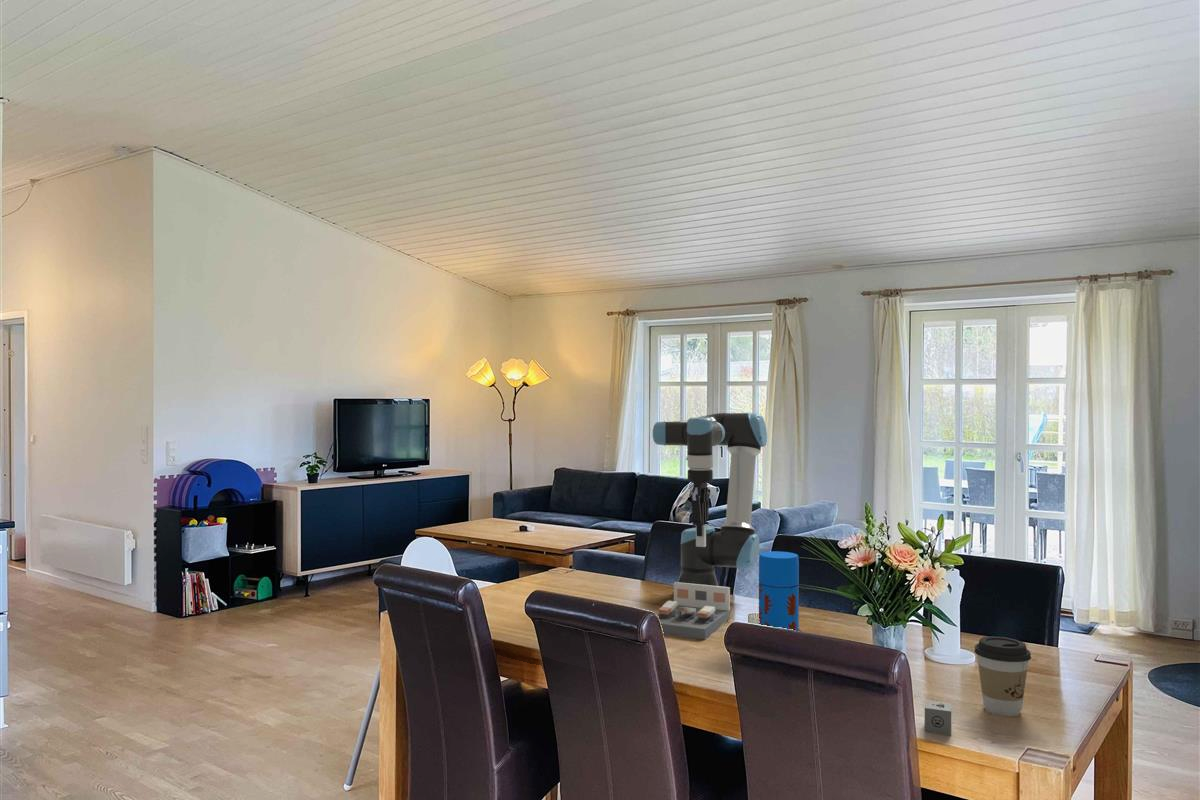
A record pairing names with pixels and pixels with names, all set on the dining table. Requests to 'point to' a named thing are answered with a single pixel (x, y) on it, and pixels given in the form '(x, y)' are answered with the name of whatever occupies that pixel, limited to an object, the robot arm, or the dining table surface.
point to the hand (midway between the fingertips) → (700, 546)
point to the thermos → (779, 589)
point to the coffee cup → (1002, 674)
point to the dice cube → (938, 717)
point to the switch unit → (696, 598)
